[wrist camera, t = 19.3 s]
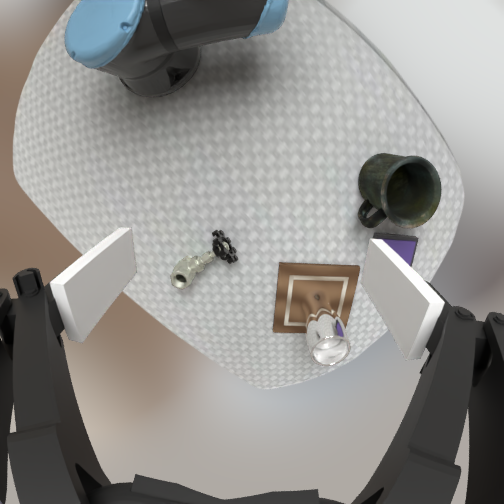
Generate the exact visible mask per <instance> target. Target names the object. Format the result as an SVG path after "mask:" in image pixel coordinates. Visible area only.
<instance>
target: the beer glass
mask: <svg viewBox="0 0 504 504" xmlns="http://www.w3.org/2000/svg"><path fill="white" fill-rule="evenodd" d="M301 306H302V309H303V310H304V312H305V314H306V327H305V334H306V341H307V345H308V348H309V351H310V354H311V358H312V360H313V361H314V362H315V363H316V364H319V365H322V366H330V365H334V364H337V363H339V362H341V361H342V360H344V359H345V358H346V357H347V356H348V354H349V352H350V343H349V339H348V335H347V332H346V329H345V326H344V324H343V322H342V320H341V319H340V317H339V316H338V315H337V313H336V312H335V311H334V309H333V308H332V305H331V298H330V295H329V294H328V293H327V292H326V291H324V290H320V289H315V290H312V291H309V292H308V293H307V294H305V296H304V297H303V299H302V302H301Z"/></svg>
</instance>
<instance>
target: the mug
mask: <svg viewBox="0 0 504 504" xmlns="http://www.w3.org/2000/svg"><path fill="white" fill-rule="evenodd" d="M359 189H360V192H361V194H362V196H363V198H364V199H365V201H364V202H363V204H362V205H361V207H360V208H359V212H358V217H359V219H360V221H361V223H362V224H363V225H364V226H365V227H367V228H373V227H376V226H377V225H379V224H380V223H381V222H382V221H383V220H384V219H386V218H387V217H388V218H389V220H390V221H391V222H392V223H394V224H395V225H397V226H399V227H402V228H415V227H418V226H421V225H423V224H424V223H426V222H427V221H428V220H429V219H430V218H431V217H432V216H433V214H434V213H435V211H436V209H437V207H438V205H439V202H440V198H441V182H440V178H439V175H438V172H437V171H436V169H435V167H434V166H433V165H432V164H431V163H430V162H429V161H428V160H426V159H424V158H422V157H419V156H407V157H404V156H398V155H392V154H386V153H381V154H377V155H374V156H372V157H371V158H369V159H368V160H367V161H366V162H365V164H364V165H363V167H362V169H361V171H360V174H359ZM373 207H375V208H376V209H378V211H377V212H375V213H374V214H373V215H372V216H370V217H369V218H366V217H367V215H368V213H369V211H370V210H371V209H372V208H373Z"/></svg>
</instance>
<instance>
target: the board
mask: <svg viewBox="0 0 504 504" xmlns="http://www.w3.org/2000/svg"><path fill="white" fill-rule="evenodd" d="M359 271H360V267H359V266H357V265H331V264H307V263H283V262H279V271H278V282H277V293H276V304H275V314H274V324H273V332H281V333H305V327H306V314H305V312H304V310H303V309H302V306H301V302H302V299H303V297H304V296H305V294H307V293H308V292H309V291H312V290H315V289H320V290H324V291H326V292H327V293H328V294H329V295H330V298H331V305H332V308H333V309H334V311H335V312H336V313H337V315H338V316H339V317H340V319H341V320H342V322H343V324H344V326H345V329H346V325H347V321H348V318H349V314H350V310H351V306H352V302H353V298H354V294H355V289H356V285H357V281H358V276H359Z"/></svg>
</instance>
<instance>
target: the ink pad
mask: <svg viewBox="0 0 504 504" xmlns="http://www.w3.org/2000/svg"><path fill="white" fill-rule="evenodd" d="M373 239H382V240H383V241H384V242H385V243H386V244H387V245H388V246H389V247H391V248H392V249H393V250H394V251H395V252H396V253H397V254H398V255H399V256H400V257H401V258H402V259H403V260H404V261H405V262H406V263H407V264H408V265H409V266H410V267H411V266H412V263H413V259H414V255H415V251H416V246H417V242H418V238H417V237H416V236H408V235H396V234H384V233H374V237H373Z"/></svg>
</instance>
